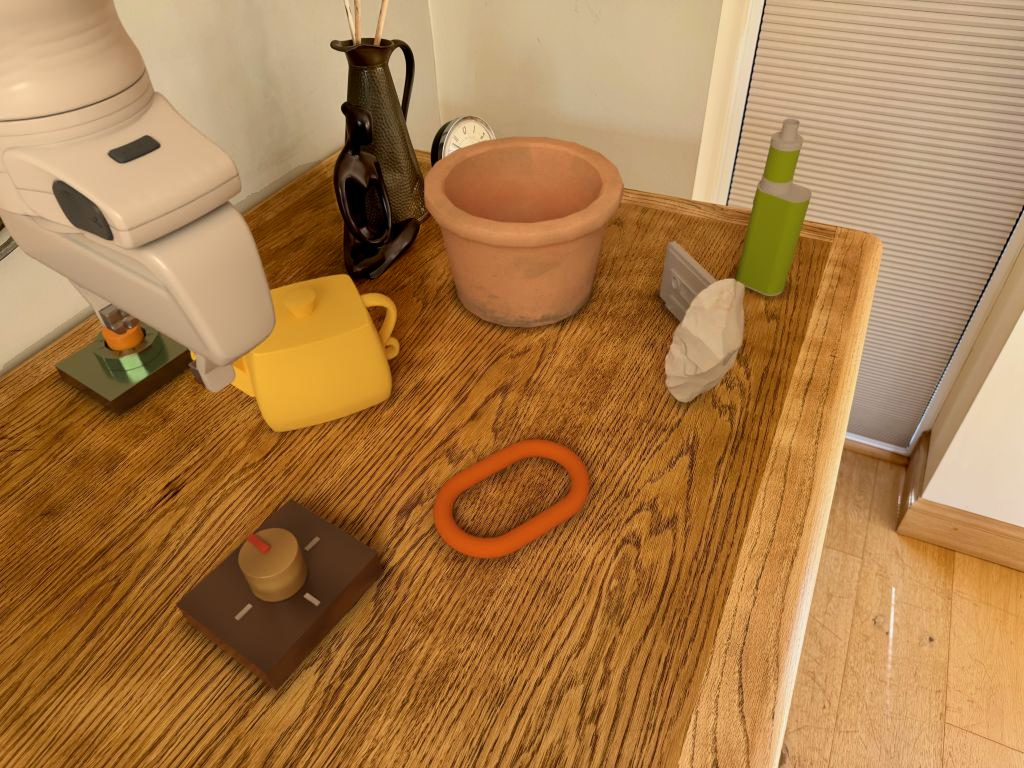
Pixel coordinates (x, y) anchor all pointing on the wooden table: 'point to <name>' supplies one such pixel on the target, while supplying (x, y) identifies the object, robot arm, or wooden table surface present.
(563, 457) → the orange oval ring
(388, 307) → the teapot
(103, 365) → the lamp switch
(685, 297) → the cassette
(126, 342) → the button
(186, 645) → the wooden table surface
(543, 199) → the pottery
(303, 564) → the dimmer knob
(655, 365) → the wooden table surface
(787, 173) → the vape
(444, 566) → the wooden table surface
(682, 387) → the stone
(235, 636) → the dimmer panel
